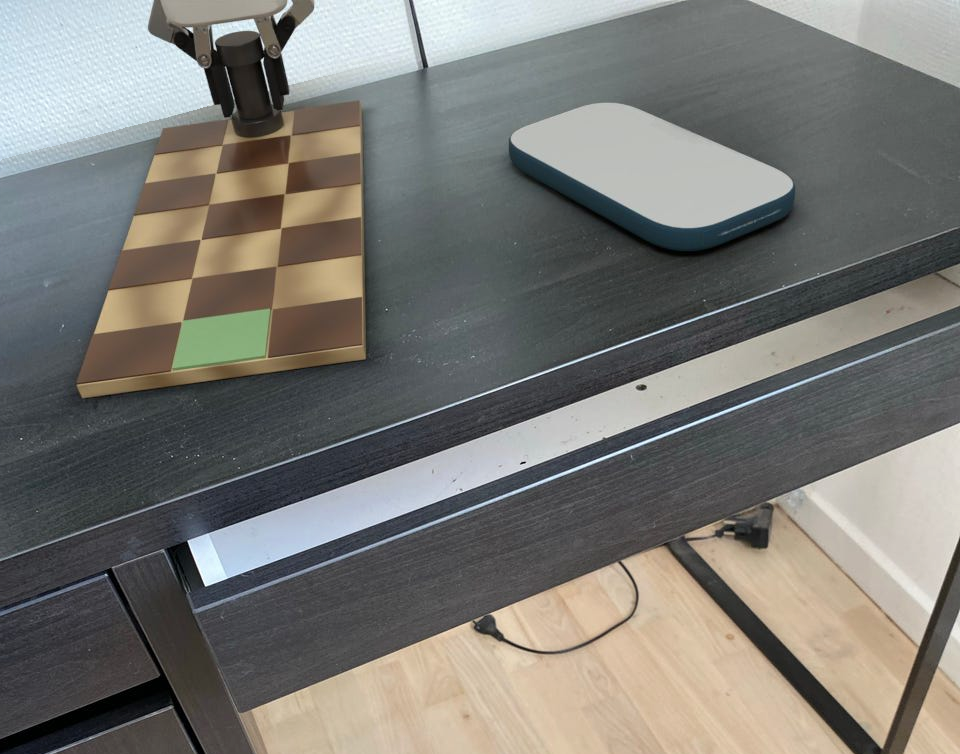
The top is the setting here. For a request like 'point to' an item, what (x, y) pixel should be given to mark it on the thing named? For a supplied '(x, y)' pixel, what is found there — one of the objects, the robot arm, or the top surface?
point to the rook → (248, 84)
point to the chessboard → (240, 251)
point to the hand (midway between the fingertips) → (254, 106)
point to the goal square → (222, 339)
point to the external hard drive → (652, 175)
